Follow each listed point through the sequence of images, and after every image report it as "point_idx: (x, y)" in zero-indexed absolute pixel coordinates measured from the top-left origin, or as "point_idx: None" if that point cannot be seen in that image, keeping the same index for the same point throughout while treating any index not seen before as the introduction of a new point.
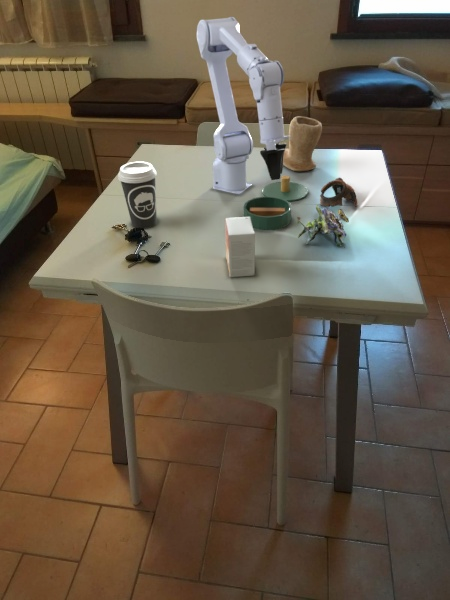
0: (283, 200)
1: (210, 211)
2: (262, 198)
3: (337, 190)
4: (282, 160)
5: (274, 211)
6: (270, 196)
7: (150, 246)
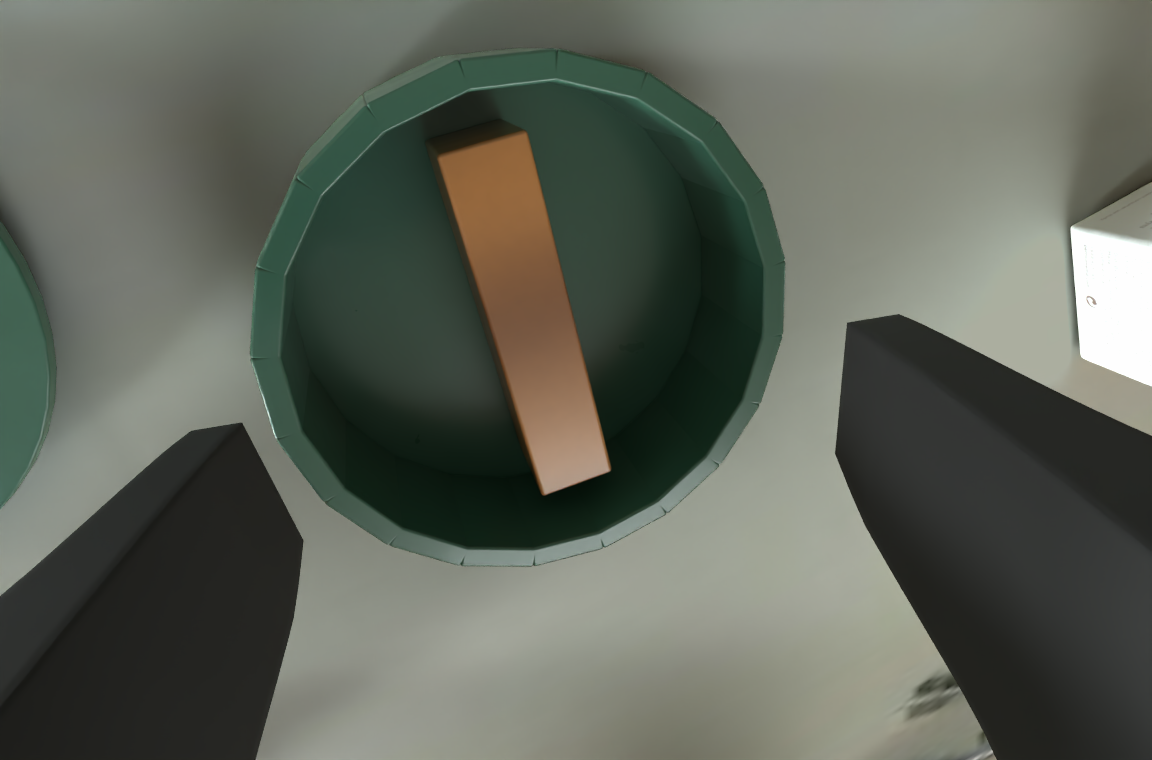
0: (311, 219)
1: (490, 726)
2: (337, 469)
3: None
4: (70, 642)
5: (554, 247)
6: (2, 444)
7: (948, 735)
